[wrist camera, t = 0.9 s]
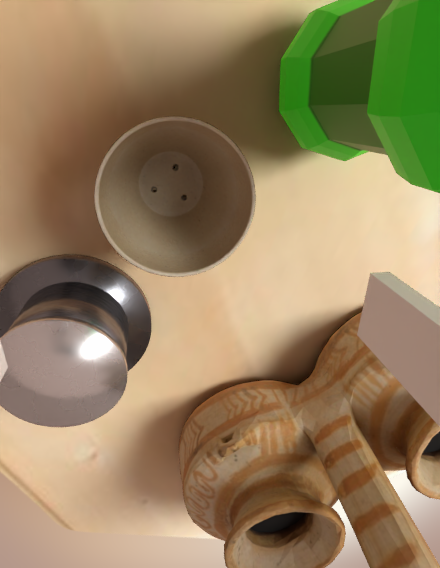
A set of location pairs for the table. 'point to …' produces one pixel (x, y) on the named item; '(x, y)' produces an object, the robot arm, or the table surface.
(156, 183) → the flower pot
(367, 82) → the plastic bottle
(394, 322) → the robot arm
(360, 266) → the table surface
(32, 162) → the table surface
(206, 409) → the ceramic vessel
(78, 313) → the grey top hat
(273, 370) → the table surface
